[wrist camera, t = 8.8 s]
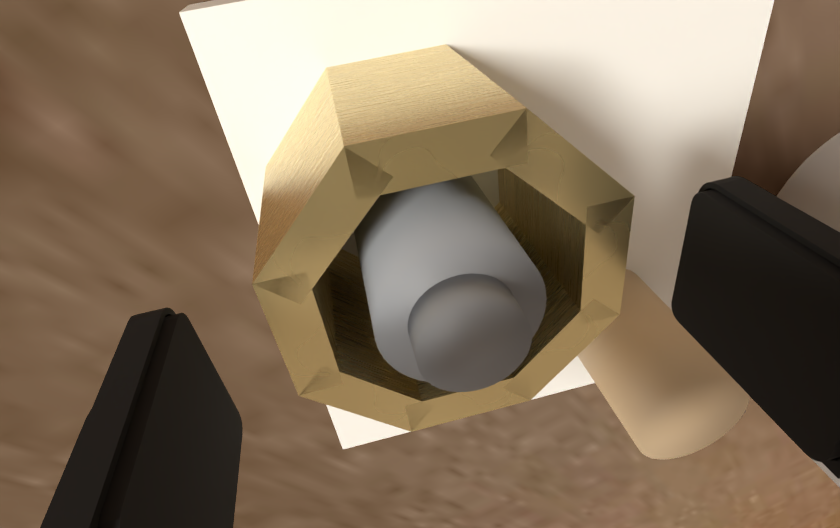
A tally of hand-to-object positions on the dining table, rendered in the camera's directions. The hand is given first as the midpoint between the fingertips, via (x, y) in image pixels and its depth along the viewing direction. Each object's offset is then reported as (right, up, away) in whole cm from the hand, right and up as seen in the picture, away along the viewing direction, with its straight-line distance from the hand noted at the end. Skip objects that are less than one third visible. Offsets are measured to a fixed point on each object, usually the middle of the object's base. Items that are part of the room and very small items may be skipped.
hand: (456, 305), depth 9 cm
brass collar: (-1, +3, +4) cm, 5 cm away
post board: (+2, +2, +7) cm, 7 cm away
